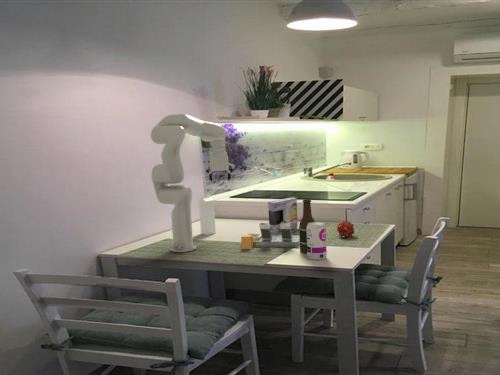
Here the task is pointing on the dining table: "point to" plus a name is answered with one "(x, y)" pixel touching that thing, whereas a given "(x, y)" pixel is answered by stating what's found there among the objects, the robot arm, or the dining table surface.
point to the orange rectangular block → (247, 241)
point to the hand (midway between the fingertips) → (220, 180)
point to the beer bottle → (305, 225)
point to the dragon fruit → (345, 229)
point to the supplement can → (316, 241)
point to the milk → (207, 215)
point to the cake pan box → (282, 213)
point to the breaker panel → (274, 241)
